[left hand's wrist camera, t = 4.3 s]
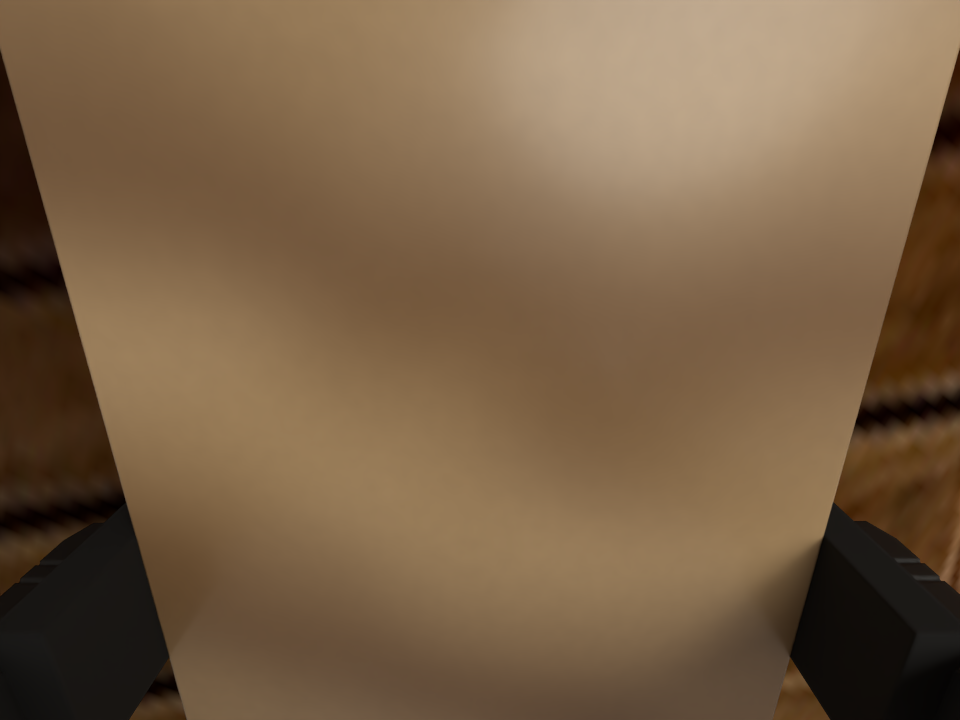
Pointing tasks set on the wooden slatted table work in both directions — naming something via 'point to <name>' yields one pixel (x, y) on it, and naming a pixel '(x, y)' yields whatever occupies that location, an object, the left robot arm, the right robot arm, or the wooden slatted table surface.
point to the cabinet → (479, 329)
